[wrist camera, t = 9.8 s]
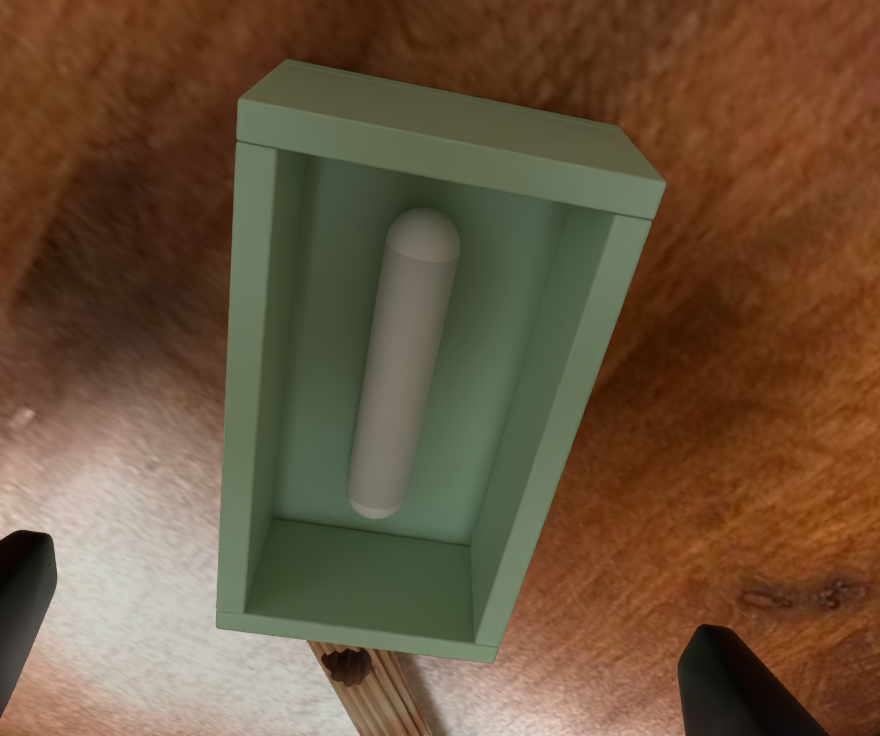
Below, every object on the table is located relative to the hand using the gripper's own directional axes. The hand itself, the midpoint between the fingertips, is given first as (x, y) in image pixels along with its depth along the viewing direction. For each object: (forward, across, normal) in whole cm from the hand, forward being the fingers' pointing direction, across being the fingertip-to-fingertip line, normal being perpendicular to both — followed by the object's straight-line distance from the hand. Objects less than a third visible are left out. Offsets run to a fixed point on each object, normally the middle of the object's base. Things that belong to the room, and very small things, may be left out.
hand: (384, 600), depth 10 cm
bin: (+7, 0, 0) cm, 7 cm away
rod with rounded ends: (+6, 0, 0) cm, 6 cm away
